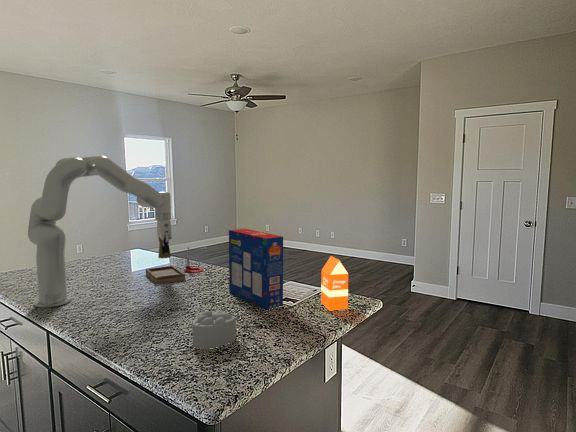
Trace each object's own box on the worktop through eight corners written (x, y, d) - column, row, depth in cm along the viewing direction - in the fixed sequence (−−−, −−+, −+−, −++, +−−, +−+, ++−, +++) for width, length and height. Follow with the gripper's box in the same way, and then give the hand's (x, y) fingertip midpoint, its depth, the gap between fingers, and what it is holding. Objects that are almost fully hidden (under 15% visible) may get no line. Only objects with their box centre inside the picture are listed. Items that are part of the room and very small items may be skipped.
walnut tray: (185, 280, 182) (184, 273, 181) (155, 284, 174) (155, 277, 174) (173, 271, 198) (172, 265, 198) (145, 275, 190) (145, 269, 190)
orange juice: (328, 312, 139) (329, 260, 136) (320, 305, 147) (321, 255, 145) (348, 311, 141) (349, 259, 139) (338, 303, 149) (339, 254, 147)
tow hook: (205, 270, 203) (190, 268, 205) (206, 247, 201) (190, 245, 203) (198, 274, 194) (182, 272, 197) (198, 250, 193) (183, 248, 195)
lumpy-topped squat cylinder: (240, 340, 115) (239, 313, 114) (204, 354, 106) (203, 325, 105) (220, 330, 122) (220, 305, 121) (185, 342, 113) (184, 315, 112)
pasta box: (282, 306, 145) (283, 236, 142) (266, 310, 140) (266, 238, 137) (244, 289, 167) (244, 228, 164) (229, 292, 162) (228, 230, 159)
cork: (166, 255, 189) (165, 234, 188) (173, 256, 185) (172, 235, 184) (155, 257, 185) (155, 235, 183) (162, 258, 181) (161, 236, 180)
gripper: (175, 217, 178) (176, 255, 180) (166, 214, 192) (167, 249, 194) (160, 218, 174) (161, 256, 176) (151, 215, 188) (152, 250, 190)
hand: (164, 252), depth 185 cm, fingers closed on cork, 4 cm apart
